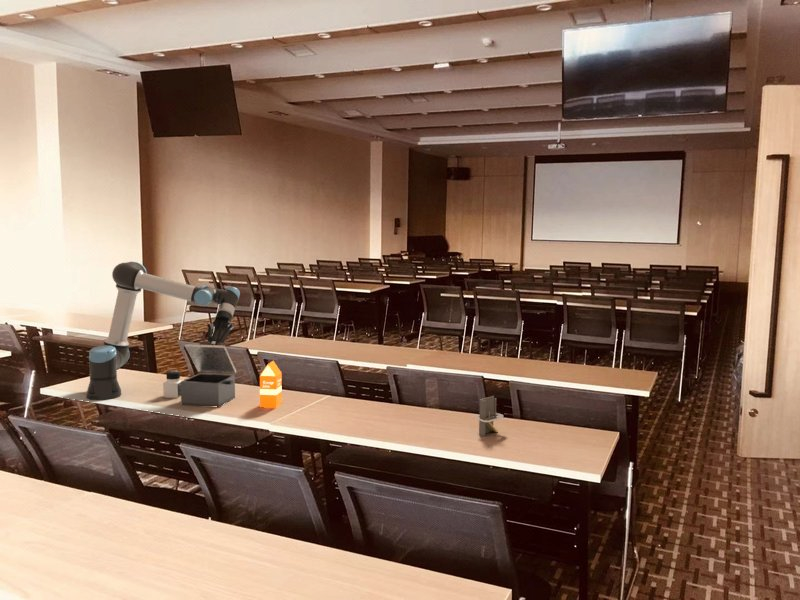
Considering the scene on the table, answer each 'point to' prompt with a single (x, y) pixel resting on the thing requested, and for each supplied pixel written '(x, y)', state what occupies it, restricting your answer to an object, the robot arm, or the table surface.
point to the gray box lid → (210, 358)
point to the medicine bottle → (172, 385)
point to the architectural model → (487, 415)
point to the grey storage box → (207, 390)
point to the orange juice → (271, 386)
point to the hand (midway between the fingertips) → (210, 354)
